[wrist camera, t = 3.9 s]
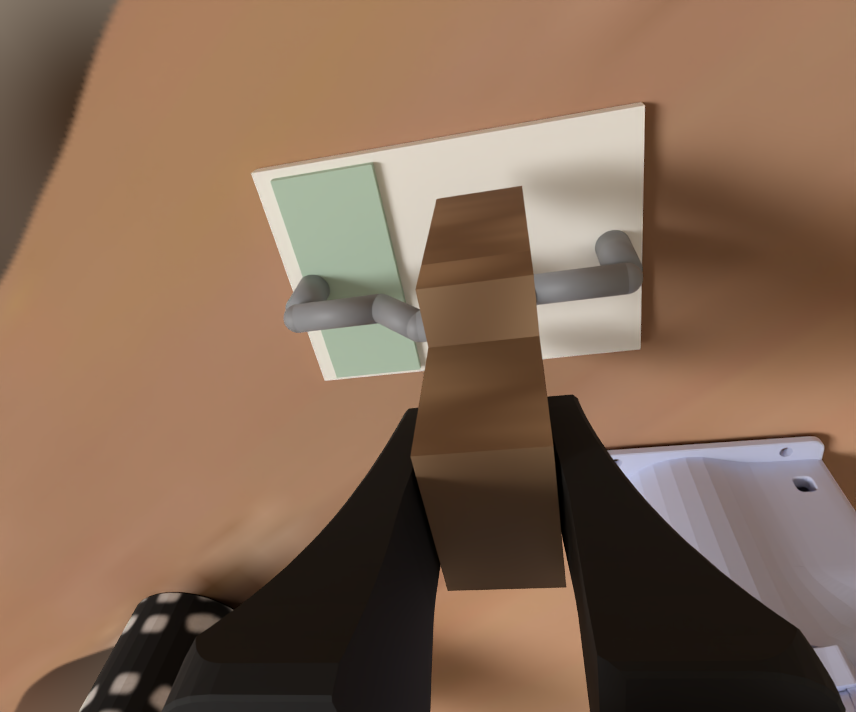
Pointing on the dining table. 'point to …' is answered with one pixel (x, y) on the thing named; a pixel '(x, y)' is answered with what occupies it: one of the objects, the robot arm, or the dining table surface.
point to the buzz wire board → (546, 221)
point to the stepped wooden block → (485, 401)
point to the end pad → (347, 259)
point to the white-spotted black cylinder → (151, 652)
